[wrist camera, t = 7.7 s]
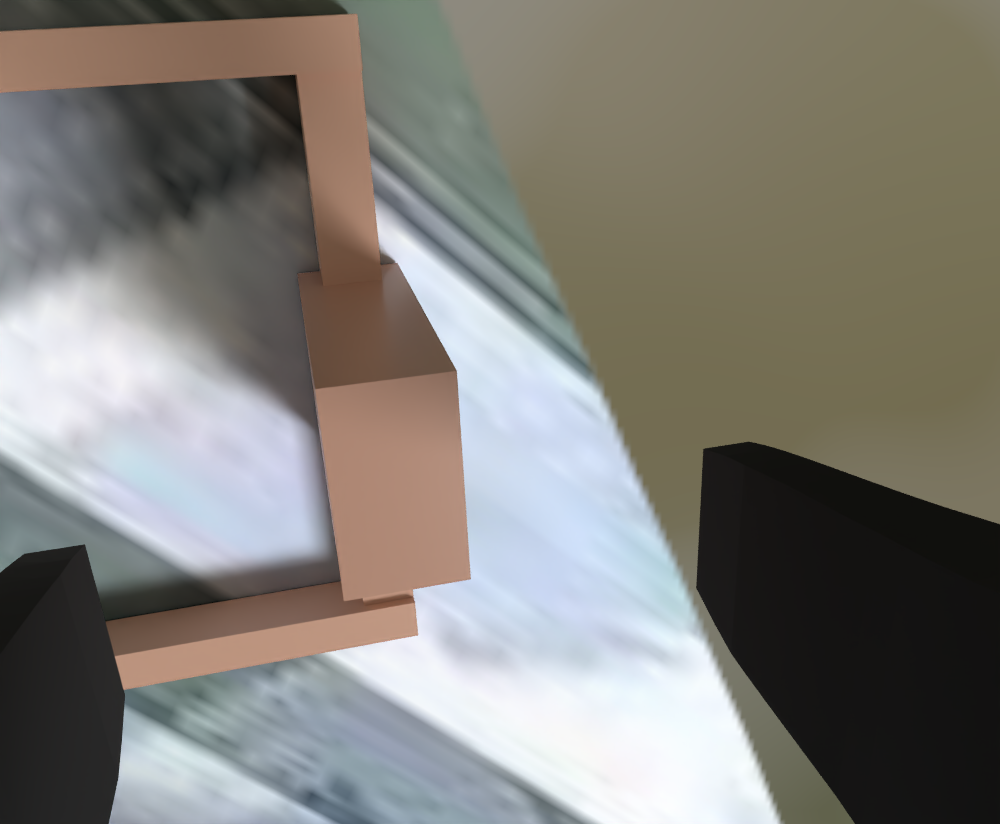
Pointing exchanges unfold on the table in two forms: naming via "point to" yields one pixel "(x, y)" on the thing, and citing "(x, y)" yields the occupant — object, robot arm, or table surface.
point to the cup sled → (331, 348)
